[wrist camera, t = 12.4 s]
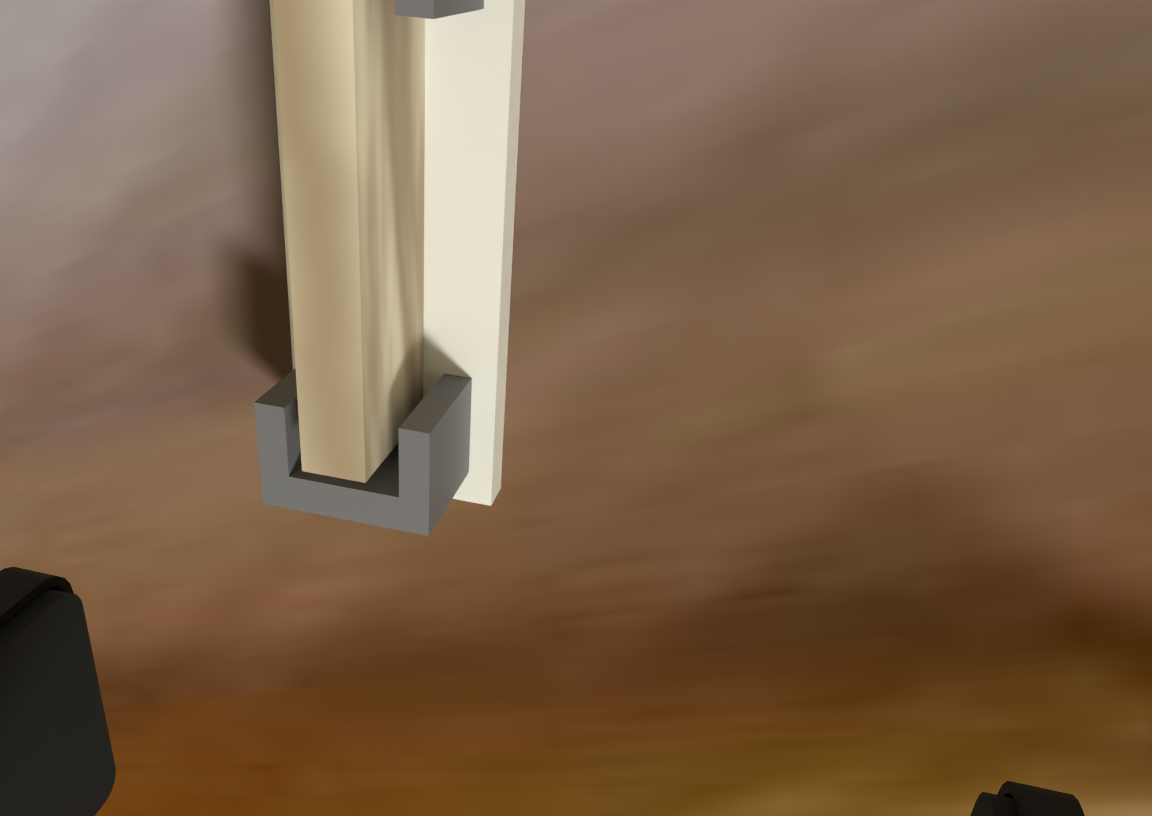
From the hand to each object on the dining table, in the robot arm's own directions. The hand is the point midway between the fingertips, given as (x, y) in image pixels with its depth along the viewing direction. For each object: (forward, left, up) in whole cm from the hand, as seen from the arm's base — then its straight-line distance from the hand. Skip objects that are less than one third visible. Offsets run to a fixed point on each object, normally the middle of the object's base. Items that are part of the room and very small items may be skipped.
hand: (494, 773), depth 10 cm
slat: (+12, +2, -27) cm, 29 cm away
